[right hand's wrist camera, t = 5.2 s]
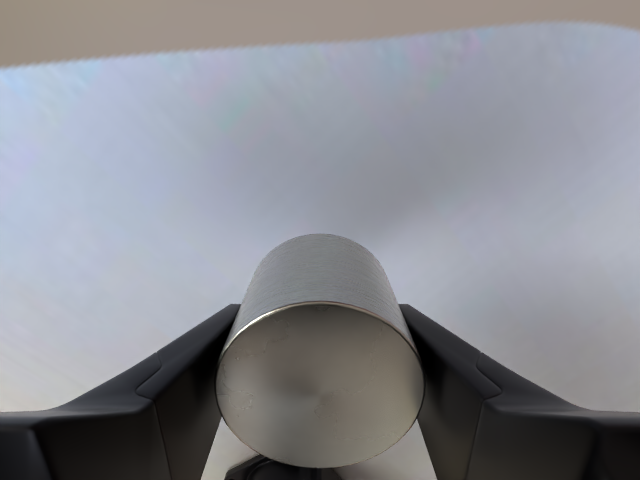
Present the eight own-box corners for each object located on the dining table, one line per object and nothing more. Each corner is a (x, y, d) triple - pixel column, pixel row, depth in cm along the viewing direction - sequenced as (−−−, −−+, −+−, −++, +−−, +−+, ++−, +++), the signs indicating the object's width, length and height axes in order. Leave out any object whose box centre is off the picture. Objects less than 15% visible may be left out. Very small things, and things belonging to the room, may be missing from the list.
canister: (400, 340, 13) (439, 450, 9) (273, 367, 13) (252, 484, 9) (375, 217, 11) (407, 278, 7) (230, 252, 12) (179, 330, 7)
